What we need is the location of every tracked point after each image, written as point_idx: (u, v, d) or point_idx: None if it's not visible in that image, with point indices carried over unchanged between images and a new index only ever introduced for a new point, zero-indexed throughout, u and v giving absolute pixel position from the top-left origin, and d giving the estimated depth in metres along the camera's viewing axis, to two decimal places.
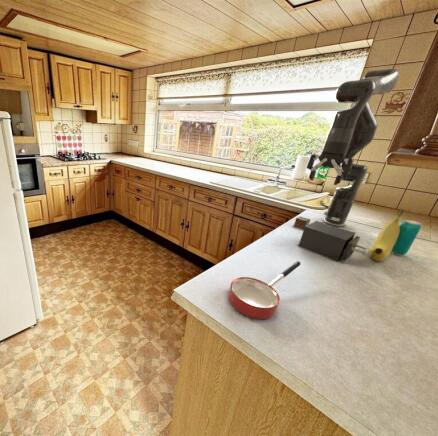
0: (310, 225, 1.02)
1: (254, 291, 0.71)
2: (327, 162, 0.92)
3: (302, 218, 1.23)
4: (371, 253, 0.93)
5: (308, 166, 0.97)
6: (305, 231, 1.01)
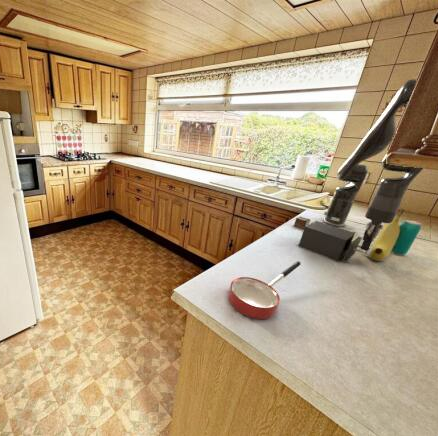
0: (310, 225, 1.02)
1: (254, 291, 0.71)
2: None
3: (302, 218, 1.23)
4: (371, 253, 0.93)
5: None
6: (305, 231, 1.01)
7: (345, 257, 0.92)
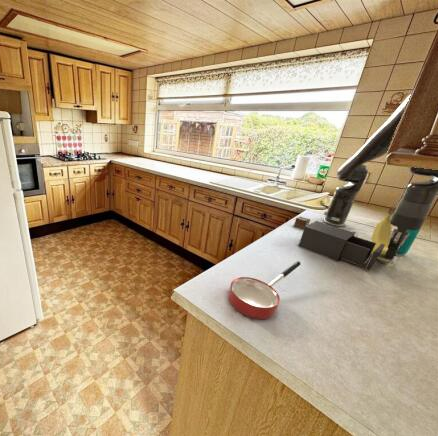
0: (310, 225, 1.02)
1: (254, 291, 0.71)
2: (396, 232, 0.83)
3: (302, 218, 1.23)
4: (383, 257, 0.90)
5: None
6: (305, 231, 1.01)
7: (368, 266, 0.86)
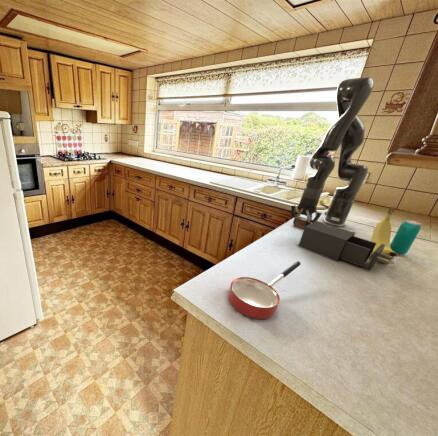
0: (310, 225, 1.02)
1: (254, 291, 0.71)
2: (304, 211, 1.20)
3: (302, 218, 1.23)
4: (384, 257, 0.90)
5: (292, 214, 1.25)
6: (305, 231, 1.01)
7: (368, 266, 0.86)
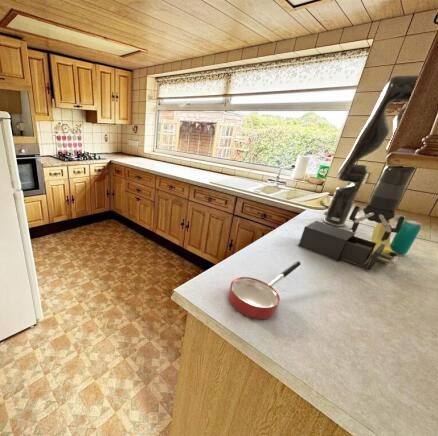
0: (310, 225, 1.02)
1: (254, 291, 0.71)
2: (374, 216, 0.86)
3: None
4: (384, 257, 0.90)
5: (351, 217, 0.91)
6: (305, 231, 1.01)
7: (369, 266, 0.86)
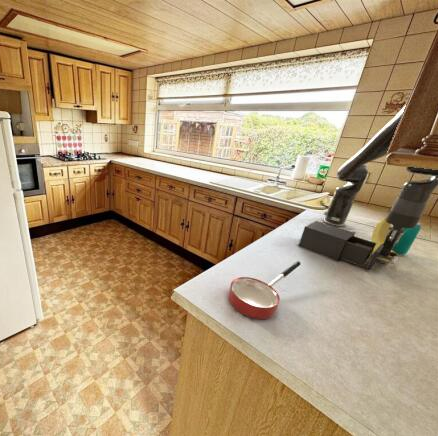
0: (310, 225, 1.02)
1: (254, 291, 0.71)
2: None
3: None
4: (384, 257, 0.90)
5: None
6: (305, 231, 1.01)
7: (369, 266, 0.86)
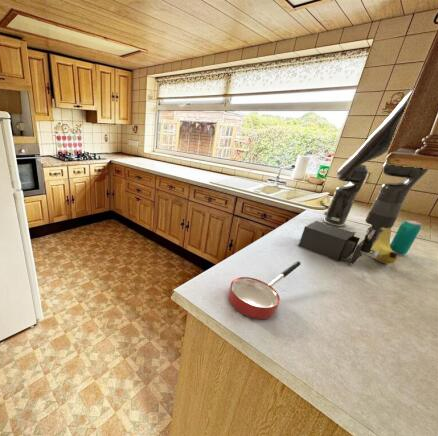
0: (310, 225, 1.02)
1: (254, 291, 0.71)
2: None
3: None
4: (384, 257, 0.90)
5: None
6: (305, 231, 1.01)
7: (352, 259, 0.90)
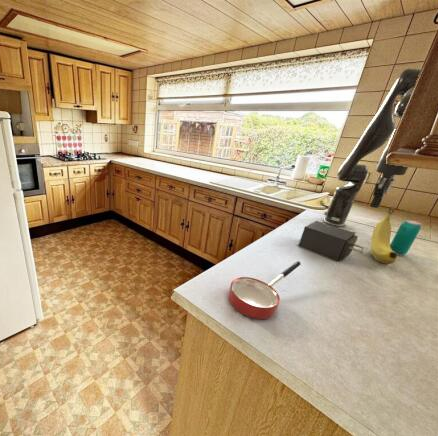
0: (310, 225, 1.02)
1: (254, 291, 0.71)
2: None
3: None
4: (384, 257, 0.90)
5: None
6: (305, 231, 1.01)
7: (341, 256, 0.92)
